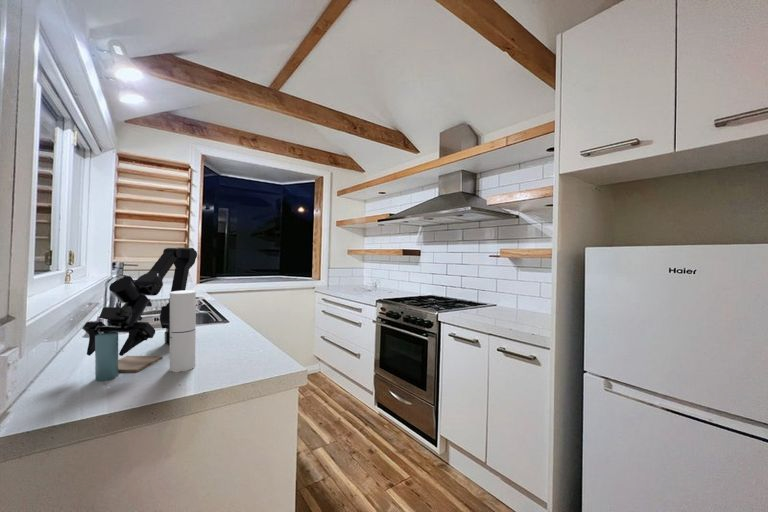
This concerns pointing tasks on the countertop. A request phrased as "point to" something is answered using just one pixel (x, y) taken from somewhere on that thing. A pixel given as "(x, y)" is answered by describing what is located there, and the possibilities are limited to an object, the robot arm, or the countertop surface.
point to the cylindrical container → (182, 330)
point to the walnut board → (136, 363)
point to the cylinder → (106, 356)
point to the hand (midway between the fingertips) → (104, 355)
